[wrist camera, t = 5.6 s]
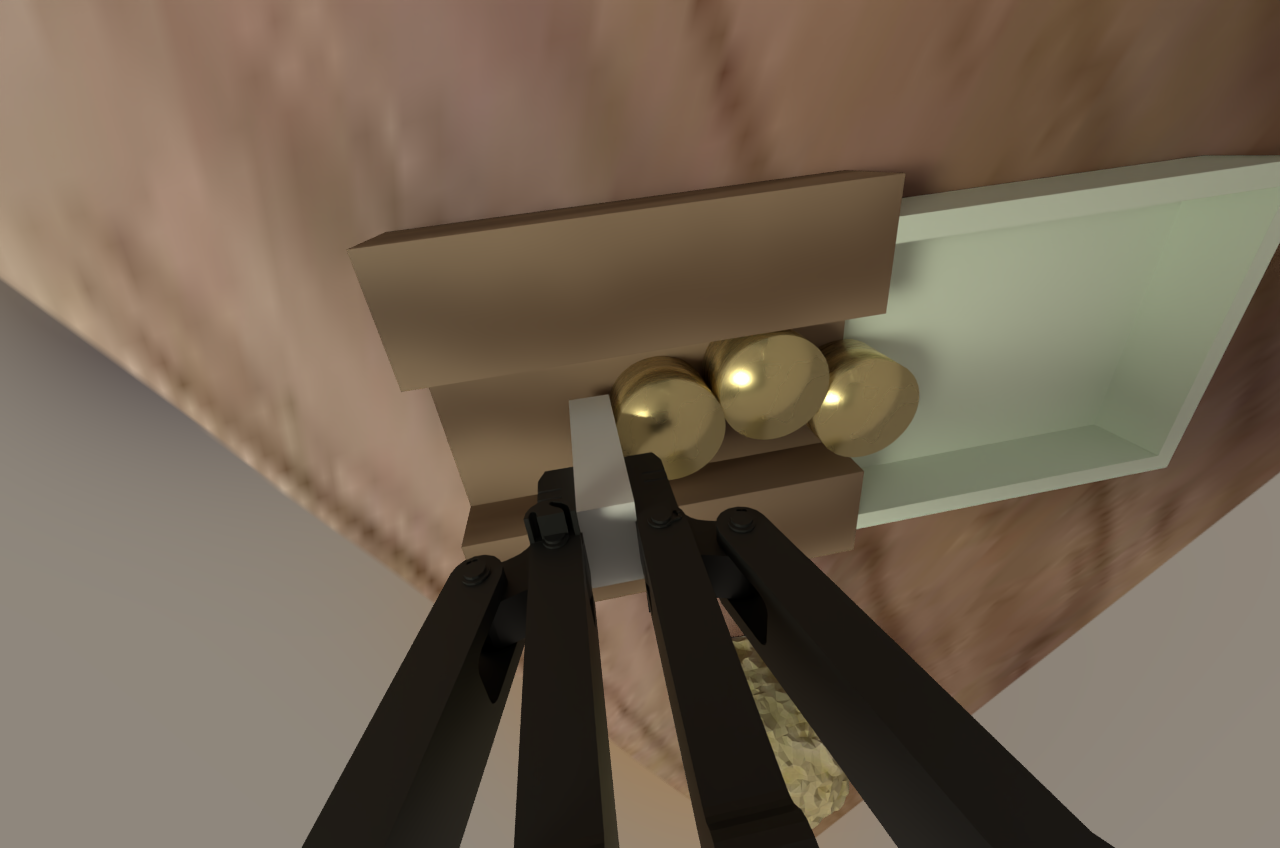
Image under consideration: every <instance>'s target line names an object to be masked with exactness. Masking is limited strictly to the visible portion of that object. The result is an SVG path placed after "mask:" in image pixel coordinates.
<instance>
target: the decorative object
mask: <svg viewBox="0 0 1280 848" xmlns="http://www.w3.org/2000/svg"><path fill="white" fill-rule="evenodd" d="M732 641H733V644H734V646H735V649H736V652H737V654H738V657H739V660H740V663H741V665H742V668H743V671H744V673H745V676H746V679H747V681H748V684H749V687H750V690H751V692H752V695H753V698H754V700H755V703H756V706H757V708H758V711H759V714H760V717H761V719H762V722H763V725H764V727H765V730H766V733H767V735H768V738H769V741H770V743H771V746H772V749H773V752H774V754H775V757H776V760H777V762H778V765H779V768H780V770H781V773H782V776H783V779H784V781H785V784H786V787H787V789H788V792H789V794H790V796H791V798H792V800H793V802H794V804H795V805H797V806H798V807H799V808H800V809H801V810H802V811H803V813H804V815H805V816H806V818H807V820H808V822H809V824H810V827H811V829H813V828H815V827H816V826H817V825H819V823H820V822H821V820H822V819H823V818H824V817H826V816H828V815H829V814H832V813H833V811H837V810H839V809H840V808H841V807H842V806H843V804H844V801H845V798H846V796H847V795H848V794H849V780H848V778H847V776H846V775H845V773H844V772H843V771H842V769H841V768H840V767H839V765H838V764H837V762H836V761H835V760H834V758H833V757H832V755H831V754H830V753H829V751H828V750H827V749H826V747H825V746H824V744H823V743H822V742H821V740H820V739H819V737H818V736H817V735H816V733H815V732H814V731H813V729H812V728H811V726H810V725H809V724H808V722H807V721H806V719H805V718H804V717H803V715H802V714H801V713H800V711H799V710H798V708H797V707H796V706H795V704H794V703H793V701H792V700H791V699H790V697H789V696H788V695H787V693H786V692H785V690H784V689H783V688H782V686H781V685H780V683H779V682H778V681H777V679H776V678H775V677H774V675H773V674H772V672H771V671H770V670H769V668H768V667H767V665H766V664H765V663H764V661H763V660H762V659H761V657H760V656H759V654H758V653H757V652H756V650H755V649H754V647H753V646H752V645H751V643H750V642H749V641H748V639H747V638H746V636H741V637H734V638H732Z"/></svg>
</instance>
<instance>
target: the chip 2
mask: <svg viewBox="0 0 1280 848" xmlns="http://www.w3.org/2000/svg"><path fill="white" fill-rule="evenodd" d="M829 377H830V376H829V368H828V364H827V361H826V359H825V357H824V355H823V354H822V352H821V351H820V350H819V349H818V348H817V347H816V346H815V345H814V344H813V343H811V342H810V341H808V340H807V339H806V338H804V337H803V336H802V335H800V334H799V333H797V332H796V331H795V330H793V329H787V330H781V331H775V332H769V333H762V334H756V335H750V336H744V337H738V338H732V339H725V340H719V341H713V342H710V344H709V345H708V347H707V349H706V351H705V354H704V357H703V362H702V378H703V380H704V382H705V383H706V385H707V386H708V387H709V389H710V390H711V392H712V393H713V395H714V396H715V398H716V399H717V401H718V402H719V403H720V405H721V407H722V409H723V412H724V416H725V419H726V421H727V422H728V423H729V425H730V426H731V427H732V428H733V429H734V430H735V431H737V432H738V433H740V434H742V435H744V436H746V437H749V438H753V439H761V440H767V439H775V438H779V437H782V436H786V435H788V434H790V433H792V432H794V431H796V430H798V429H799V428H801V427H802V426H803V425H805V424H806V423H807V422H808V421H809V420H810V419H811V418H812V417H813V416H814V415H815V414H816V412H817V411H818V410H819V408H820V407H821V405H822V403H823V401H824V399H825V397H826V394H827V391H828V386H829Z"/></svg>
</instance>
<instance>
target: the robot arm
mask: <svg viewBox="0 0 1280 848" xmlns="http://www.w3.org/2000/svg"><path fill="white" fill-rule="evenodd" d="M569 412H570V427H571V441H572V456H573V467H568V468H562V469H556V470H550V471H545V472H544V473H543V475H542V476H541V478H540V480H539V481H538V494H537V504H535V505H534V506H532V507H531V508H530V509H529V510H528V511H527V512H526V513H525V516H524V519H523V520H524V524H525V527H526V531H527V534H528V538H529V542H530V546H529V547H528V548H527V549H526V550H524V551H523V552H522V553H520V554H518V555H517V556H515V557H513V558H510V559H508V560H506V561H503V562H501V561H500V559H498V558H497V557H495V556H492V555H479V556H474V557H472V558H470V559H467V560H465V561H464V562H462V563H461V564H459V565H458V566H457V567H456V568H455V569H454V570H453V572H452V573H451V574H450V576H449V578H448V580H447V582H446V583H445V585H444V587H443V589H442V591H441V593H440V594H439V596H438V598H437V600H436V602H435V604H434V605H433V607H432V609H431V611H430V613H429V615H428V617H427V618H426V620H425V622H424V624H423V626H422V627H421V629H420V631H419V633H418V635H417V637H416V639H415V640H414V642H413V644H412V646H411V648H410V650H409V651H408V653H407V655H406V657H405V659H404V661H403V662H402V664H401V666H400V668H399V670H398V672H397V673H396V675H395V677H394V679H393V681H392V683H391V684H390V686H389V688H388V690H387V692H386V694H385V695H384V697H383V699H382V701H381V703H380V705H379V706H378V708H377V710H376V712H375V714H374V716H373V718H372V719H371V721H370V723H369V725H368V727H367V728H366V730H365V732H364V734H363V736H362V738H361V739H360V741H359V743H358V745H357V747H356V749H355V751H354V753H353V754H352V756H351V758H350V760H349V762H348V763H347V765H346V767H345V769H344V771H343V773H342V774H341V776H340V778H339V780H338V782H337V784H336V785H335V787H334V789H333V791H332V793H331V795H330V796H329V798H328V800H327V802H326V804H325V806H324V808H323V809H322V811H321V813H320V815H319V817H318V818H317V820H316V822H315V824H314V826H313V828H312V830H311V831H310V833H309V835H308V837H307V839H306V840H305V842H304V844H303V846H302V848H459V847H460V844H461V841H462V838H463V834H464V832H465V828H466V825H467V822H468V819H469V816H470V813H471V809H472V806H473V803H474V800H475V797H476V794H477V791H478V788H479V785H480V782H481V779H482V776H483V772H484V769H485V766H486V763H487V760H488V757H489V753H490V750H491V747H492V744H493V741H494V738H495V735H496V732H497V729H498V726H499V723H500V719H501V716H502V713H503V710H504V707H505V704H506V701H507V698H508V694H509V691H510V688H511V685H512V682H513V679H514V676H515V673H516V670H517V666H518V663H519V660H520V657H521V654H522V651H523V648H524V645H525V650H524V669H523V687H522V707H521V725H520V744H519V762H518V763H519V764H518V782H517V800H516V818H515V819H516V820H515V837H514V848H619V841H618V831H617V821H616V810H615V800H614V790H613V780H612V770H611V760H610V752H609V751H610V750H609V740H608V730H607V719H606V709H605V699H604V689H603V679H602V669H601V659H600V649H599V639H598V629H597V619H596V609H595V601H594V597H593V592H592V588H597V587H603V586H608V585H613V584H618V583H623V582H628V581H634V580H639V579H644V578H645V585H646V592H647V600H648V607H649V612H651V616H652V621H653V625H654V630H655V635H656V639H657V644H658V649H659V653H660V658H661V663H662V667H663V672H664V677H665V681H666V686H667V691H668V695H669V700H670V705H671V709H672V714H673V719H674V723H675V728H676V733H677V737H678V742H679V747H680V751H681V756H682V761H683V765H684V770H685V775H686V779H687V784H688V789H689V793H690V798H691V802H692V807H693V812H694V816H695V821H696V826H697V830H698V835H699V840H700V844H701V848H819V846H818V844H817V841H816V839H815V836H814V834H813V831H812V829H811V827H810V824H809V822H808V820H807V818H806V816H805V815H804V813H803V811H802V810H801V809H800V808H799V807H798V806H797V805H795V804H794V802H793V800H792V798H791V796H790V794H789V792H788V789H787V787H786V784H785V781H784V779H783V776H782V773H781V770H780V768H779V765H778V762H777V760H776V757H775V754H774V752H773V749H772V746H771V743H770V741H769V738H768V735H767V733H766V730H765V727H764V725H763V722H762V719H761V717H760V714H759V711H758V708H757V706H756V703H755V700H754V698H753V695H752V692H751V690H750V687H749V684H748V681H747V679H746V676H745V673H744V671H743V668H742V665H741V663H740V660H739V657H738V654H737V652H736V649H735V646H734V644H733V641H732V638H731V636H730V633H729V630H728V628H727V625H726V622H725V619H724V617H723V614H722V611H721V609H720V606H719V603H718V601H717V598H719V599H720V601H721V603H722V605H723V606H724V607H725V609H726V610H727V611H728V613H729V614H730V616H731V617H732V618H733V620H734V621H735V623H736V624H737V625H738V627H739V628H740V629H741V631H742V632H743V634H744V635H745V636H746V638H747V639H748V641H749V642H750V643H751V645H752V646H753V647H754V649H755V650H756V652H757V653H758V654H759V656H760V657H761V659H762V660H763V661H764V663H765V664H766V665H767V667H768V668H769V670H770V671H771V672H772V674H773V675H774V677H775V678H776V679H777V681H778V682H779V683H780V685H781V686H782V688H783V689H784V690H785V692H786V693H787V695H788V696H789V697H790V699H791V700H792V701H793V703H794V704H795V706H796V707H797V708H798V710H799V711H800V713H801V714H802V715H803V717H804V718H805V719H806V721H807V722H808V724H809V725H810V726H811V728H812V729H813V731H814V732H815V733H816V735H817V736H818V737H819V739H820V740H821V742H822V743H823V744H824V746H825V747H826V749H827V750H828V751H829V753H830V754H831V755H832V757H833V758H834V760H835V761H836V762H837V764H838V765H839V767H840V768H841V769H842V771H843V772H844V773H845V775H846V776H847V778H848V779H849V780H850V782H851V783H852V785H853V786H854V787H855V789H856V790H857V791H858V793H859V794H860V796H861V797H862V798H863V800H864V801H865V802H866V804H867V805H868V807H869V808H870V809H871V811H872V812H873V813H874V815H875V816H876V818H877V819H878V820H879V822H880V823H881V824H882V826H883V827H884V829H885V830H886V832H887V833H888V834H889V836H890V837H891V838H892V840H893V841H894V843H895V844H896V845H897V847H898V848H1115V847H1113V846H1112V845H1110V844H1109V843H1107V842H1106V841H1104V840H1102V839H1101V838H1100V837H1098V836H1096V835H1095V834H1094V833H1092V832H1091V831H1090V830H1089V829H1088V828H1087V827H1086V826H1085V825H1084V824H1083V823H1082V822H1081V821H1079V819H1078V818H1077V817H1075V815H1073V814H1072V813H1071V812H1070V811H1069V810H1068V809H1067V808H1066V807H1065V806H1064V805H1063V804H1062V803H1061V802H1060V801H1059V800H1058V799H1057V798H1056V797H1055V796H1054V795H1053V794H1052V793H1051V792H1050V791H1049V790H1048V789H1046V788H1045V786H1043V785H1042V784H1041V783H1040V782H1039V781H1038V780H1037V779H1036V778H1035V777H1034V776H1033V775H1032V774H1031V773H1030V772H1029V771H1028V770H1027V769H1026V768H1025V767H1024V766H1023V765H1022V764H1021V763H1020V762H1019V761H1018V760H1016V758H1015V757H1013V756H1012V755H1011V754H1010V753H1009V752H1008V751H1007V750H1006V749H1005V748H1004V747H1003V746H1002V745H1001V744H1000V743H999V742H998V741H997V740H996V739H995V738H994V737H993V736H992V735H991V734H990V733H989V732H988V731H987V730H986V729H985V728H983V726H981V725H980V724H979V723H978V722H977V721H976V720H975V719H974V718H973V717H972V716H971V715H970V714H969V713H968V712H967V711H966V710H965V709H964V708H963V707H962V706H961V705H960V704H959V703H958V702H957V701H956V700H955V699H954V698H953V697H951V696H950V695H949V694H948V693H947V692H946V691H945V690H944V689H943V688H942V687H941V686H940V685H939V684H938V683H937V682H936V681H935V680H934V679H933V678H932V677H931V676H930V675H929V674H928V673H927V672H926V671H925V670H924V669H923V668H922V667H920V666H919V665H918V664H917V663H916V662H915V661H914V660H913V659H912V658H911V657H910V656H909V655H908V654H907V653H906V652H905V651H904V650H903V649H902V648H901V647H900V646H899V645H898V644H897V643H896V642H895V641H894V640H893V639H892V638H890V637H889V636H888V635H887V634H886V633H885V632H884V631H883V630H882V629H881V628H880V627H879V626H878V625H877V624H876V623H875V622H874V621H873V620H872V619H871V618H870V617H869V616H868V615H867V614H866V613H865V612H864V611H863V610H862V609H861V608H859V607H858V606H857V605H856V604H855V603H854V602H853V601H852V600H851V599H850V598H849V597H848V596H847V595H846V594H845V593H844V592H843V591H842V590H841V589H840V588H839V587H838V586H837V585H836V584H835V583H834V582H833V581H832V580H831V579H830V578H828V577H827V576H826V575H825V574H824V573H823V572H822V571H821V570H820V569H819V568H818V567H817V566H816V565H815V564H814V563H813V562H812V561H811V560H810V559H809V558H808V557H807V556H806V555H805V554H804V553H803V552H802V551H801V550H800V549H798V548H797V547H796V546H795V545H794V544H793V543H792V542H791V541H790V540H789V539H788V538H787V537H786V536H785V535H784V534H783V533H782V532H781V531H780V530H779V529H778V528H777V527H776V526H775V525H774V524H773V523H772V522H771V521H770V520H769V519H767V518H766V517H765V516H764V515H763V514H762V513H760V512H759V511H757V510H755V509H752V508H749V507H733V508H728V509H726V510H725V511H723V512H721V513H720V514H719V516H718V517H717V520H716V521H708V520H698V519H694V518H691V517H689V516H687V515H685V513H684V512H683V510H682V509H680V508H679V507H678V505H677V502H676V499H675V496H674V494H673V491H672V488H671V485H670V482H669V480H668V478H667V474H666V471H665V469H664V466H663V463H662V460H661V459H660V458H659V457H658V456H656V455H655V454H654V453H652V452H649V453H643V454H637V455H631V456H626V457H623V453H622V448H621V444H620V440H619V436H618V432H617V428H616V423H615V419H614V415H613V411H612V407H611V402H610V398H609V394H607V395H600V396H594V397H588V398H581V399H575V400H569Z"/></svg>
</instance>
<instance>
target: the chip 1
mask: <svg viewBox="0 0 1280 848" xmlns="http://www.w3.org/2000/svg"><path fill="white" fill-rule="evenodd" d="M609 398H610V402H611V407H612V411H613V415H614V419H615V423H616V428H617V432H618V436H619V440H620V444H621V448H622V453H623V457H626V456H631V455H637V454H643V453H649V452H652V453H654V454H655V455H656V456H658V457H659V458H660V459H661V460H662V463H663V466H664V469H665V471H666V474H667V478H668V480H673V479H679V478H682V477H685V476H688V475H690V474H692V473H694V472H696V471H698V470H699V469H701V468H702V467H704V466H705V465H706V464H707V463H708V462H709V461H710V460H711V459H712V458H713V457H714V456H715V454H716V453H717V452H718V450H719V448H720V446H721V444H722V442H723V439H724V435H725V428H726V424H725V416H724V412H723V409H722V407H721V405H720V403H719V402H718V401H717V399H716V398H715V396H714V395H713V393H712V392H711V390H710V389H709V387H708V386H707V385H706V383H705V382H704V380H703V379H702V377H701V376H700V375H699V373H698V372H697V371H696V370H695V369H694V368H693V367H692V366H691V365H690V364H688V363H687V362H685V361H683V360H680V359H678V358H674V357H669V356H655V357H649V358H646V359H643V360H640V361H638V362H636V363H634V364H632V365H631V366H630V367H628V368H627V369H626V370H625V371H623V372H622V373H621V375H620V376H619V377H618V378H617V380H616V381H615V383H614V384H613V387H612V389H611V392H610V395H609Z"/></svg>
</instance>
